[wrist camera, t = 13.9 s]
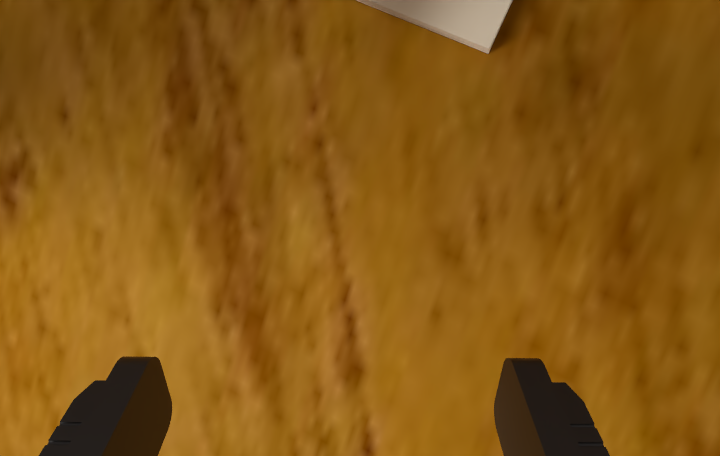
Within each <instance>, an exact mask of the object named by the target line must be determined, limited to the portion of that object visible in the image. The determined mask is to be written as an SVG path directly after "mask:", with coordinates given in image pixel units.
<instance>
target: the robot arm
mask: <svg viewBox="0 0 720 456" xmlns="http://www.w3.org/2000/svg"><path fill="white" fill-rule="evenodd" d="M171 415H172V401H171V397H170V393H169V390H168V387H167V383H166V380H165V376H164V373H163V370H162V366H161V363H160V360H159V359H158V358H157V357H121V358H120V359H119V360H118V361H117V363H116V364H115V366H114V368H113V369H112V371H111V373H110V374H109V376H108V378H107V380H106V381H94V382H93V383H92V384H91V385H89V386H88V387H87V388H86V389H85V390H84V391H83V392H82V393H81V394H79V395H78V396H77V397H76V398H75V399H74V400H73V402H72V403H71V405H70V407H69V408H68V410H67V411H66V413H65V415H64V416H63V418H62V419H61V421H60V425H59V426H57V427H56V429H55V431H54V432H53V434H52V435H51V437H50V439H49V440H48V441H49V443H48V445H45V447H44V448H43V450H42V452H41V453H40V455H39V456H158V454H159V451H160V448H161V446H162V443H163V441H164V438H165V436H166V433H167V431H168V428H169V425H170V421H171ZM494 416H495V424H496V429H497V433H498V436H499V440H500V443H501V447H502V450H503V454H504V456H610V455H609V453H608V451H607V449H606V447H604V446H603V441H602V439H601V437H600V434H599V432H598V430H597V428H595V427H594V422H593V420H592V418H591V416H590V414H589V412H588V410H587V408H586V406H585V403H584V402H583V401H582V399H581V398H580V397H579V396H578V395H577V394H576V393H575V392H574V391H573V390H572V389H571V388H570V387H569V386H568V385H567V384H566V383H553V382H551V379H550V377H549V375H548V372H547V370H546V368H545V365H544V363H543V362H542V361H541V360H540V359H537V358H507V359H505V361H504V364H503V368H502V372H501V377H500V381H499V385H498V389H497V394H496V398H495V403H494Z"/></svg>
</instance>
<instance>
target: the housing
mask: <svg viewBox="0 0 720 456" xmlns="http://www.w3.org/2000/svg"><path fill="white" fill-rule="evenodd" d="M356 1H359V2H361V3H364V4H366V5H369V6H371V7H374V8H376V9H378V10H381V11H383V12H386V13H388V14H391V15H393V16H396V17H398V18H401V19H403V20H406V21H408V22H411V23H413V24H416V25H418V26H421V27H423V28H426V29H428V30H430V31H433V32H435V33H438V34H440V35H443V36H445V37H448V38H450V39H453V40H455V41H458V42H460V43H463V44H465V45H468V46H470V47H473V48H475V49H478V50H480V51H483V52H485V53H487V54H488V53H489V51H490V49H491V47H492V45H493V43H494V40H495V38H496V36H497V34H498V32H499V30H500V27H501V25H502V23H503V21H504V19H505V17H506V14H507V12H508V10H509V8H510V6H511V4H512V1H513V0H356Z"/></svg>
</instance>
